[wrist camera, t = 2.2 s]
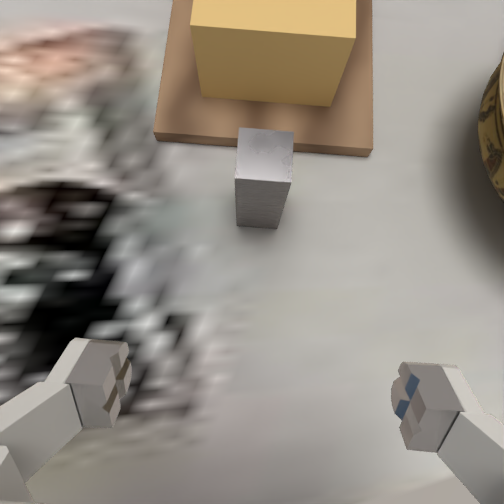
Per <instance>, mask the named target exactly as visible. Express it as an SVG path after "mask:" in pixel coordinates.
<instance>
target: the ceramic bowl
mask: <svg viewBox="0 0 504 504" xmlns="http://www.w3.org/2000/svg"><path fill="white" fill-rule="evenodd" d="M478 140H479V147H480V153H481V156H482V160H483V163H484V167H485V169H486V172H487V174H488V177H489V179H490V181H491V183H492V185H493V186H494V188H495V190H496V191H497V193H498V195H499V196H500V198H501V199H502V201H503V202H504V53H503V56H502V60H501V62H500V64H499V65H498V67H497V68H496V70H495V71H494V73H493V74H492V76H491V77H490V80H489V82H488V85H487V87H486V89H485V92H484V94H483V98H482V102H481V107H480V113H479V119H478Z"/></svg>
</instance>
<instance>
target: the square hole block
mask: <svg viewBox="0 0 504 504" xmlns="http://www.w3.org/2000/svg"><path fill="white" fill-rule="evenodd" d="M190 28H191V34H192V40H193V46H194V52H195V58H196V64H197V70H198V76H199V82H200V88H201V94H202V97H211V98H223V99H236V100H249V101H262V102H275V103H287V104H300V105H313V106H326V107H330V106H331V103H332V101H333V98H334V95H335V93H336V90H337V87H338V85H339V82H340V79H341V77H342V74H343V71H344V69H345V66H346V63H347V61H348V58H349V55H350V53H351V50H352V47H353V45H354V42H355V39H356V0H193V6H192V14H191V21H190Z"/></svg>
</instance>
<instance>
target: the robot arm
mask: <svg viewBox="0 0 504 504" xmlns="http://www.w3.org/2000/svg"><path fill="white" fill-rule="evenodd" d="M128 352H129V349H128V344H127V343H125V342H118V341H107V340H97V339H83V338H74V339H73V340H72V341H70V343H69V344H68V346H67V347H66V349H65V351H64V352H63V354H62V355H61V357H60V358H59V360H58V361H57V363H56V364H55V366H54V368H53V369H52V371H51V372H50V374H49V375H48V377H47V378H46V380H45V381H44V382H38V383H36V384H35V385H33V386H31V387H30V388H28V389H27V390H25V391H24V392H22V393H20V394H19V395H17V396H16V397H14V398H12V399H11V400H9V401H8V402H6V403H5V404H3V405H1V406H0V504H45V503H34V502H33V498H32V496H31V494H30V492H29V490H28V488H27V486H26V484H25V482H26V481H27V480H28V479H29V478H30V477H32V476H33V475H34V474H35V473H36V472H37V471H38V470H39V469H40V468H41V467H42V466H43V465H44V464H45V463H46V462H48V461H49V460H50V459H51V458H52V457H53V456H54V455H55V454H56V453H57V452H58V451H59V450H60V449H61V448H62V447H64V446H65V445H66V444H67V443H68V442H69V441H70V440H71V439H72V438H73V437H74V436H75V435H76V434H77V433H78V432H80V431H81V430H82V427H93V428H113V426H114V423H115V421H116V418H117V416H118V413H119V411H120V408H121V406H120V400H119V399H121V398H122V397H123V396H124V395H126V393H127V390H128V388H129V385H130V380H131V370H132V368H131V362H130V361H129V360H128V359H127V358H126V357H127V355H128ZM398 372H399V375H400V377H399V378H397V379H396V380H394V382H393V385H392V388H391V401H392V406H393V410H394V413H395V414H396V415H397V416H398V417H399V418H400V419H401V420H402V422H401V425H400V427H399V428H400V431H401V434H402V437H403V440H404V443H405V446H406V449H407V450H416V451H426V452H435V453H437V455H438V456H439V457H440V458H441V460H442V461H443V462H444V463H445V464H446V465H447V466H448V467H449V469H450V470H451V471H452V472H453V473H454V474H455V475H456V477H457V478H458V479H459V480H460V481H461V482H462V483H463V485H464V486H465V487H466V488H467V489H468V490H469V491H470V493H471V494H472V495H473V496H474V497H475V498H476V499H477V501H478V502H479V503H480V504H504V424H503V423H501V422H500V421H499V420H497V419H496V418H495V417H494V416H492V415H491V414H485V412H484V411H483V409H482V407H481V405H480V404H479V402H478V400H477V398H476V397H475V395H474V393H473V391H472V390H471V388H470V386H469V385H468V383H467V381H466V379H465V378H464V376H463V374H462V372H461V371H460V369H459V368H458V367H457V366H456V365H448V364H433V363H417V362H402V363H401V364H400V366H399V369H398Z"/></svg>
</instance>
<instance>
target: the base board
mask: <svg viewBox="0 0 504 504" xmlns="http://www.w3.org/2000/svg"><path fill="white" fill-rule="evenodd" d="M192 6H193V0H173V4H172V11H171V17H170V24H169V31H168V37H167V44H166V50H165V57H164V64H163V70H162V77H161V83H160V90H159V97H158V103H157V110H156V117H155V123H154V130H153V132H154V135H155V137H156V140H157V141H169V142H182V143H195V144H208V145H221V146H234V147H237V146H238V135H239V127H241V128H254V129H266V130H279V131H292V132H294V140H293V151H298V152H311V153H324V154H337V155H350V156H363V157H368V156H369V154H370V153H371V151H372V150H373V67H372V0H356V39H355V42H354V45H353V47H352V50H351V53H350V55H349V58H348V61H347V63H346V66H345V69H344V71H343V74H342V77H341V79H340V82H339V85H338V87H337V90H336V93H335V95H334V98H333V101H332V103H331V106H330V107H326V106H313V105H300V104H287V103H275V102H262V101H249V100H236V99H223V98H211V97H202V94H201V88H200V82H199V76H198V70H197V64H196V58H195V52H194V46H193V40H192V34H191V28H190V21H191V14H192Z"/></svg>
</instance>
